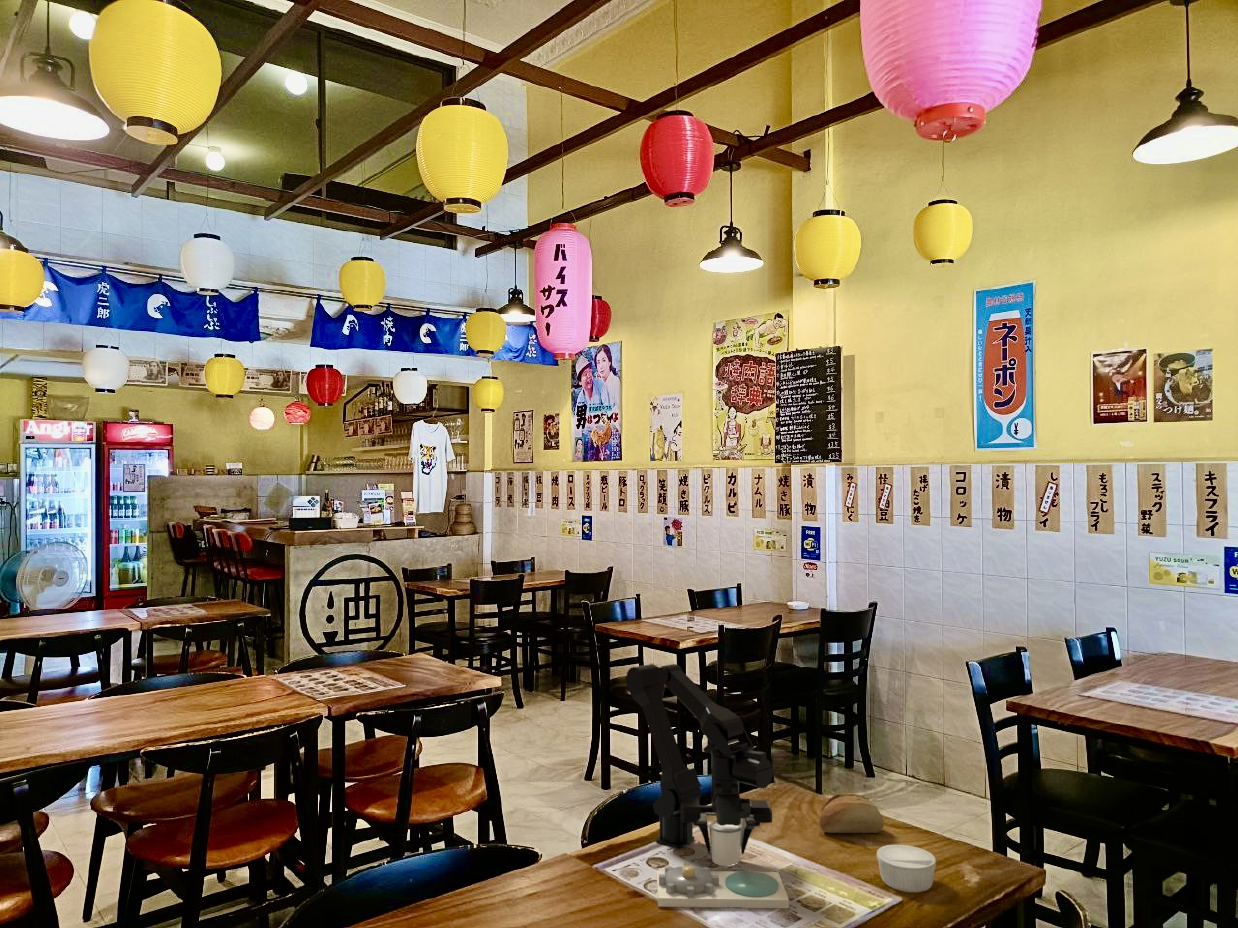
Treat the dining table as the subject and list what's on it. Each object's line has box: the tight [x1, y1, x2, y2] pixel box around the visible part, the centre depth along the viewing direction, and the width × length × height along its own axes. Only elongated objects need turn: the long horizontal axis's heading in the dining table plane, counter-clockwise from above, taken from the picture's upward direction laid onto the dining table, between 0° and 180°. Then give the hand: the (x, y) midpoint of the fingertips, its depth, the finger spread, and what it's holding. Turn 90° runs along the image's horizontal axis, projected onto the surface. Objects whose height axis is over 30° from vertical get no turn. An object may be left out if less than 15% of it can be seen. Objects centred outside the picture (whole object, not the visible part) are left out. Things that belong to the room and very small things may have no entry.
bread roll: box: [819, 792, 885, 834], centre depth 191 cm, size 10×15×8 cm, turn 99°
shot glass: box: [708, 821, 742, 867], centre depth 174 cm, size 7×7×7 cm
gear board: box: [656, 863, 790, 909], centre depth 159 cm, size 24×12×4 cm, turn 89°
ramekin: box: [876, 844, 937, 893], centre depth 164 cm, size 11×11×5 cm
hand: (725, 852), depth 174 cm, fingers open, 7 cm apart
